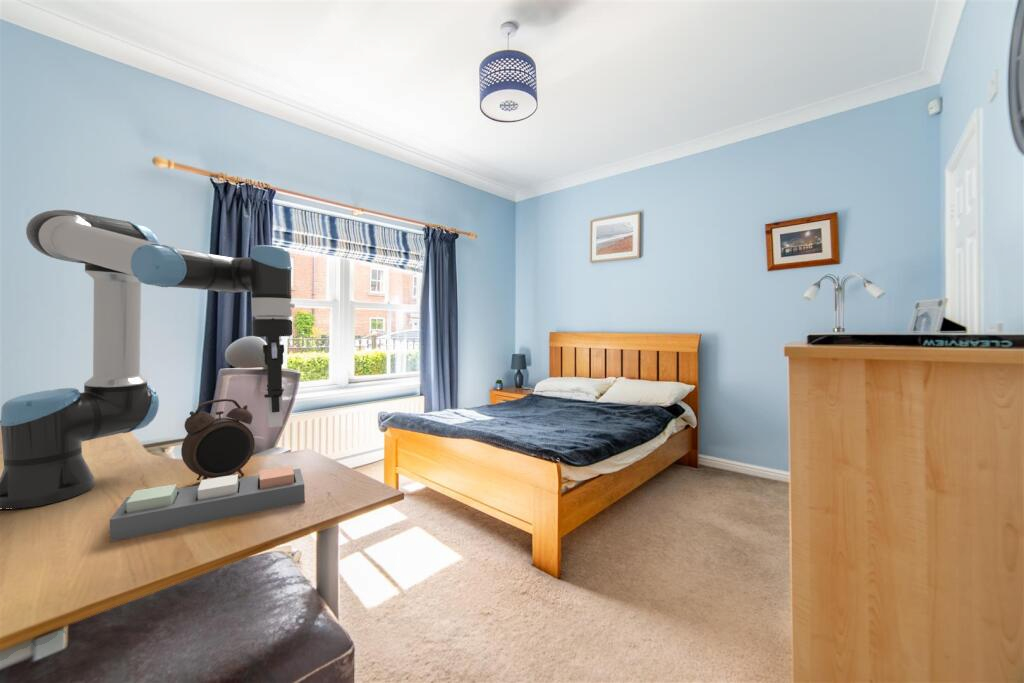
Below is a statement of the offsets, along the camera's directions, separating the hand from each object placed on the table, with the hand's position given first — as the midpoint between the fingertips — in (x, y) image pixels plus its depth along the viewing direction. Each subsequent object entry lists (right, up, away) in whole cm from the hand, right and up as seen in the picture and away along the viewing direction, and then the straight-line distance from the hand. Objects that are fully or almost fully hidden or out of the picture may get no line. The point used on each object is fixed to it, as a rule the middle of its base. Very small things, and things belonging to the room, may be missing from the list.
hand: (275, 423), depth 91 cm
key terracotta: (0, -14, +1) cm, 14 cm away
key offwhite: (-9, -14, -5) cm, 17 cm away
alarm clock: (-20, -16, +12) cm, 29 cm away
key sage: (-18, -14, -10) cm, 25 cm away
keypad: (-9, -17, -5) cm, 20 cm away
